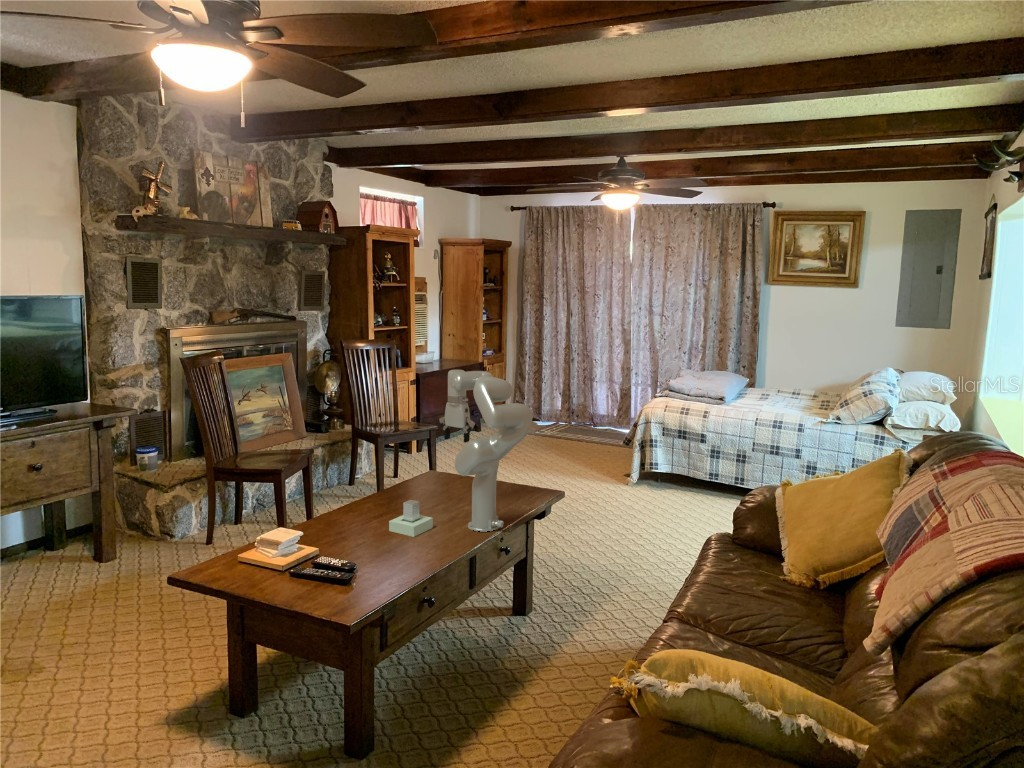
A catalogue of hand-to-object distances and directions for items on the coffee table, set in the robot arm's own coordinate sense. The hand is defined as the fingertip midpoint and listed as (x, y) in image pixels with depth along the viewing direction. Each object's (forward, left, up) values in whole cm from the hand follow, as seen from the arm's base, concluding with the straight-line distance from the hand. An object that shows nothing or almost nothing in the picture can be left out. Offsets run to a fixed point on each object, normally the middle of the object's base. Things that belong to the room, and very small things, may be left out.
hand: (456, 440), depth 298 cm
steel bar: (+2, +28, -30) cm, 41 cm away
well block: (+2, +28, -30) cm, 41 cm away
